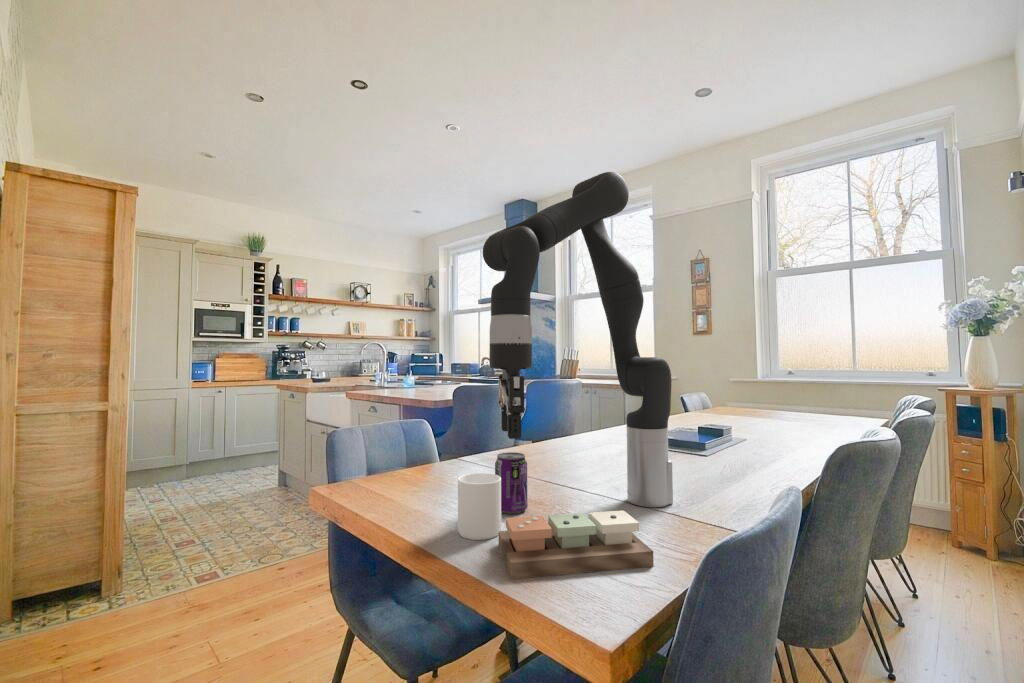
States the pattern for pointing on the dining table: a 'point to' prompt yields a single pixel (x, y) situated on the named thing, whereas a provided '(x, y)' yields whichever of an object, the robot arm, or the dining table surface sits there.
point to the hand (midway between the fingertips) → (510, 434)
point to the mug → (479, 506)
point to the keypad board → (573, 557)
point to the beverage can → (512, 481)
